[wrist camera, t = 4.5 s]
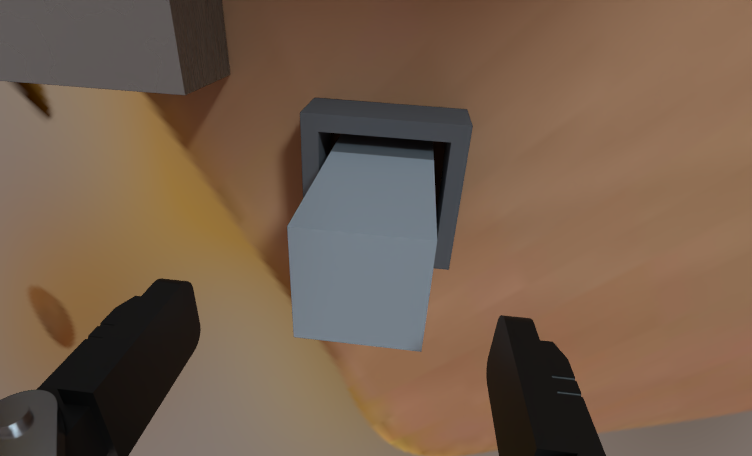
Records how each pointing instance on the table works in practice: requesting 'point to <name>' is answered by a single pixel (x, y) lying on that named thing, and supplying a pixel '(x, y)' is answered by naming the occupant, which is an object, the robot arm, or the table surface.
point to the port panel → (114, 44)
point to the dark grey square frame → (394, 123)
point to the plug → (366, 244)
